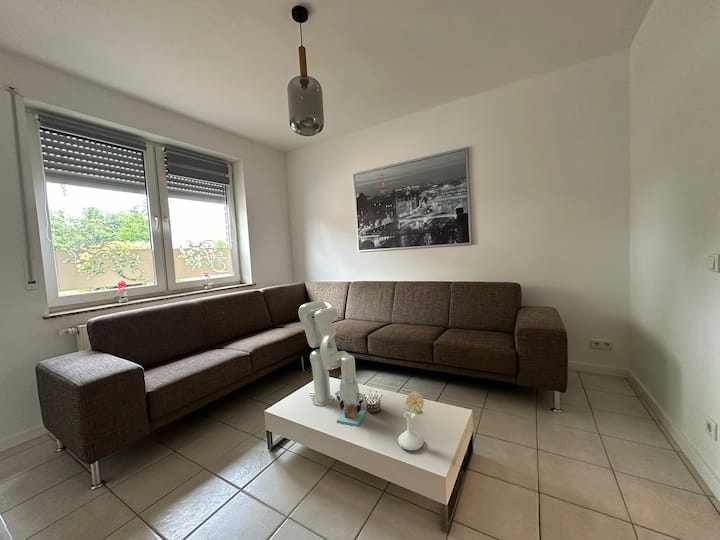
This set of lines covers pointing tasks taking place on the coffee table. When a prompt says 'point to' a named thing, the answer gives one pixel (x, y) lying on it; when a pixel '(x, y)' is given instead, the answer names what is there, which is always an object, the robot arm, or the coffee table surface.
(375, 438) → the coffee table surface
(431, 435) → the coffee table surface
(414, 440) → the flower in vase
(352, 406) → the walnut block
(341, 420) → the teal board
